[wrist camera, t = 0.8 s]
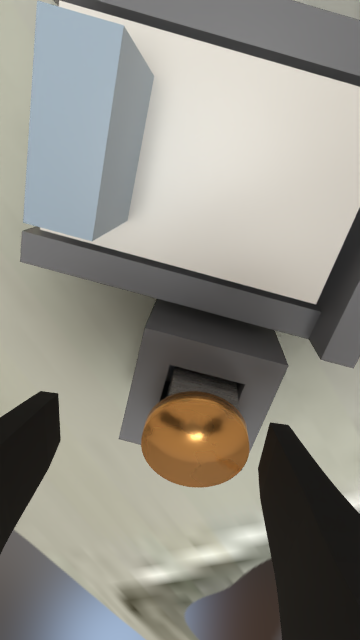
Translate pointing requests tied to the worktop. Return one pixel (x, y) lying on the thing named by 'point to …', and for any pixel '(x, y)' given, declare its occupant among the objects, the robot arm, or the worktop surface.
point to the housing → (211, 292)
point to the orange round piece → (196, 431)
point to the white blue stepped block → (189, 152)
